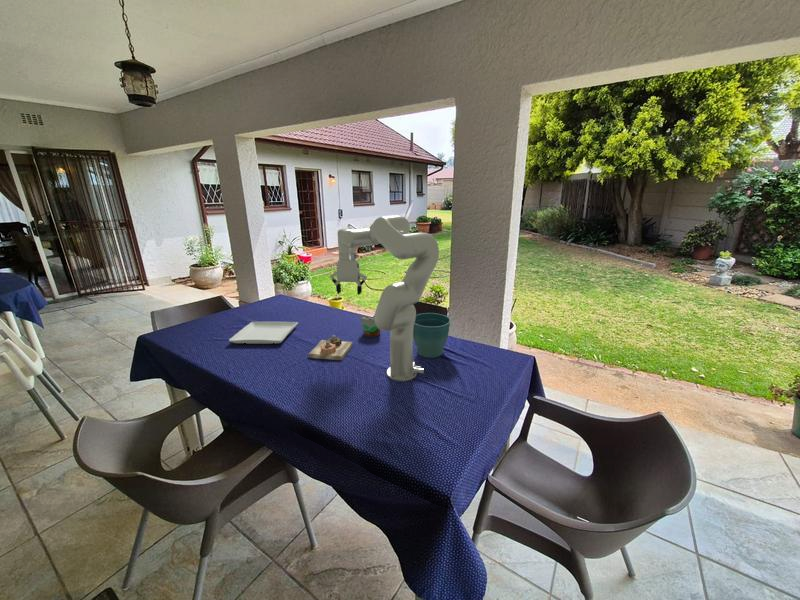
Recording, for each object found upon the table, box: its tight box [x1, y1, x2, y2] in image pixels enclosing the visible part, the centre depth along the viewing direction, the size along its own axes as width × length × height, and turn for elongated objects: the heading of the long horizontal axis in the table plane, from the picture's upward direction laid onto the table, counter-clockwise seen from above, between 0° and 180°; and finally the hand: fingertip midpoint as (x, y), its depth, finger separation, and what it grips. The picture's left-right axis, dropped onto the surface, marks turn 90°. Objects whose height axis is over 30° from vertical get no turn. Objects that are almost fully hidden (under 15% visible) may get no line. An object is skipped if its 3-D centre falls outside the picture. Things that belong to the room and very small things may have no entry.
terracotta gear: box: [321, 343, 336, 354], centre depth 158 cm, size 7×7×2 cm
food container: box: [360, 314, 381, 338], centre depth 179 cm, size 12×6×10 cm, turn 62°
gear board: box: [308, 334, 353, 361], centre depth 161 cm, size 16×16×6 cm
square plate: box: [228, 321, 299, 345], centre depth 181 cm, size 27×27×4 cm
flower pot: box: [413, 312, 451, 359], centre depth 158 cm, size 18×18×17 cm
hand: (349, 293), depth 156 cm, fingers open, 9 cm apart
